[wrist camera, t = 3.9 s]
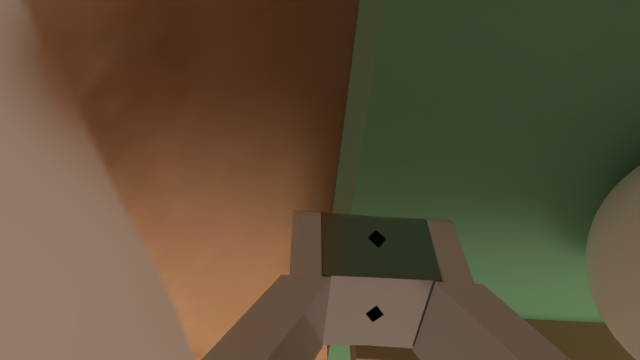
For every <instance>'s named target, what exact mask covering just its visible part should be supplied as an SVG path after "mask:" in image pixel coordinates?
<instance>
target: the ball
mask: <svg viewBox="0 0 640 360" xmlns="http://www.w3.org/2000/svg"><path fill="white" fill-rule="evenodd" d="M585 261H586V272H587V281H588V284H589V288H590V291H591V295H592V298H593V301H594V303H595V305H596V307H597V309H598V312H599V314H600V316H601V317H602V319H603V320H604V322H605V324H606V325H607V327H608V328H609V330H610V331H611V333H612V334H613V336H614V337H615V338H616V339H617V340H618V342H619V343H620V344H621V345H622V346H623V347H624V348H625V350H626V351H628V352H629V353H630V354H631V355H632V356H633V357H634V358H635V359H636V360H640V166H638V167H637V168H635V169H634V170H633V171H631V172H630V173H629V174H628V175H626V176H625V177H624V178H623V179H622V180H621V181H620V182H619V183H618V184H617V185H616V186H615V187H614V188H613V189H612V190H611V191H610V193H609V194H608V195H607V196H606V198H605V200H604V201H603V203H602V204H601V206H600V207H599V209H598V211H597V213H596V215H595V217H594V219H593V222H592V225H591V228H590V231H589V235H588V238H587V246H586V256H585Z"/></svg>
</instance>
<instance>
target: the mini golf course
mask: <svg viewBox="0 0 640 360" xmlns="http://www.w3.org/2000/svg"><path fill="white" fill-rule="evenodd" d="M638 166H640V0H360V1H359V9H358V16H357V24H356V32H355V40H354V48H353V55H352V63H351V71H350V79H349V87H348V94H347V102H346V110H345V118H344V125H343V133H342V141H341V149H340V157H339V164H338V172H337V180H336V188H335V196H334V203H333V211H332V213H340V214H353V215H366V216H382V217H404V218H422V219H423V218H441V219H450V220H451V221H452V222H453V224H454V226H455V229H456V232H457V235H458V238H459V241H460V244H461V247H462V249H463V252H464V255H465V258H466V261H467V264H468V267H469V269H470V272H471V275H472V278H473V281H474V284H483V285H484V286H485V287H486V288H488V289H489V290H490V291H491V292H492V293H493V294H495V295H496V296H497V297H498V298H499V299H500V300H502V301H503V302H504V303H505V304H506V305H507V306H509V307H510V308H511V309H512V310H513V311H515V312H516V313H517V314H518V315H519V316H520V317H522V318H523V319H524V320H525V321H526V322H527V323H529V324H530V325H531V326H532V327H533V328H534V329H536V330H537V331H538V332H539V333H540V334H541V335H543V336H544V337H545V338H546V339H547V340H548V341H550V342H551V343H552V344H553V345H554V346H555V347H557V348H558V349H559V350H560V351H561V352H562V353H564V354H565V355H566V356H567V357H568V358H569V359H571V360H636V359H635V358H634V357H633V356H632V355H631V354H630V353H629V352H628V351H626V350H625V348H624V347H623V346H622V345H621V344H620V343H619V342H618V340H617V339H616V338H615V337H614V336H613V334H612V333H611V331H610V330H609V328H608V327H607V325H606V324H605V322H604V320H603V319H602V317H601V316H600V314H599V312H598V309H597V307H596V305H595V303H594V301H593V298H592V295H591V291H590V288H589V284H588V281H587V272H586V261H585V256H586V246H587V238H588V235H589V231H590V228H591V225H592V222H593V219H594V217H595V215H596V213H597V211H598V209H599V207H600V206H601V204H602V203H603V201H604V200H605V198H606V196H607V195H608V194H609V193H610V191H611V190H612V189H613V188H614V187H615V186H616V185H617V184H618V183H619V182H620V181H621V180H622V179H623V178H624V177H625V176H626V175H628V174H629V173H630V172H631V171H633V170H634V169H635V168H637V167H638ZM327 360H419V358H418V357H417V356H416V354H415V353H414V352H413V348H400V347H384V346H369V345H327Z"/></svg>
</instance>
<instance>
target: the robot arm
mask: <svg viewBox="0 0 640 360" xmlns="http://www.w3.org/2000/svg"><path fill="white" fill-rule="evenodd" d="M322 345H369V346H384V347H400V348H413V352H414V353H415V354H416V356H417V357H418V358H419V360H571V359H569V358H568V357H567V356H566V355H565V354H564V353H562V352H561V351H560V350H559V349H558V348H557V347H555V346H554V345H553V344H552V343H551V342H550V341H548V340H547V339H546V338H545V337H544V336H543V335H541V334H540V333H539V332H538V331H537V330H536V329H534V328H533V327H532V326H531V325H530V324H529V323H527V322H526V321H525V320H524V319H523V318H522V317H520V316H519V315H518V314H517V313H516V312H515V311H513V310H512V309H511V308H510V307H509V306H507V305H506V304H505V303H504V302H503V301H502V300H500V299H499V298H498V297H497V296H496V295H495V294H493V293H492V292H491V291H490V290H489V289H488V288H486V287H485V286H484V285H483V284H474V281H473V278H472V275H471V272H470V269H469V267H468V264H467V261H466V258H465V255H464V252H463V249H462V247H461V244H460V241H459V238H458V235H457V232H456V229H455V226H454V224H453V222H452V221H451V220H450V219H441V218H423V219H422V218H404V217H382V216H366V215H353V214H340V213H327V212H321V214H320V212H308V211H294V213H293V223H292V241H291V258H290V275H281V276H280V277H279V278H278V279H277V280H276V281H275V282H274V283H273V284H272V285H271V286H270V288H269V289H268V290H267V291H266V292H265V293H264V294H263V295H262V296H261V297H260V298H259V299H258V300H257V301H256V302H255V303H254V305H253V306H252V307H251V308H250V309H249V310H248V311H247V312H246V313H245V314H244V315H243V316H242V317H241V318H240V319H239V320H238V321H237V323H236V324H235V325H234V326H233V327H232V328H231V329H230V330H229V331H228V332H227V333H226V334H225V335H224V336H223V337H222V338H221V340H220V341H219V342H218V343H217V344H216V345H215V346H214V347H213V348H212V349H211V350H210V351H209V352H208V353H207V354H206V355H205V357H204V358H203V359H202V360H315V358H316V357H317V355H318V353H319V352H320V350H321V349H322Z"/></svg>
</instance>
